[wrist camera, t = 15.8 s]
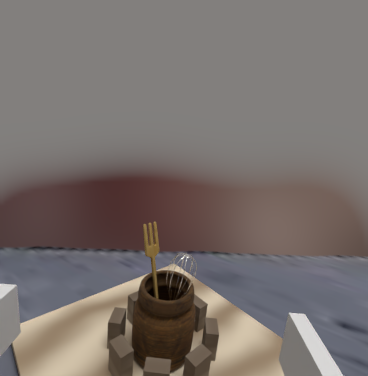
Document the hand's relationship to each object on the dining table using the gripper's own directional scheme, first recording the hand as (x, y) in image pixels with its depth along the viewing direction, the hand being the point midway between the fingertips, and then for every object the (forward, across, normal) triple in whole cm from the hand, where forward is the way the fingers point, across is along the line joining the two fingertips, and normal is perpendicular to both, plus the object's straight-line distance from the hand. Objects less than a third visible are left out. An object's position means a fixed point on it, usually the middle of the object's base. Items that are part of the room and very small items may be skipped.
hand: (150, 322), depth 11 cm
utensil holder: (+10, 0, -12) cm, 15 cm away
